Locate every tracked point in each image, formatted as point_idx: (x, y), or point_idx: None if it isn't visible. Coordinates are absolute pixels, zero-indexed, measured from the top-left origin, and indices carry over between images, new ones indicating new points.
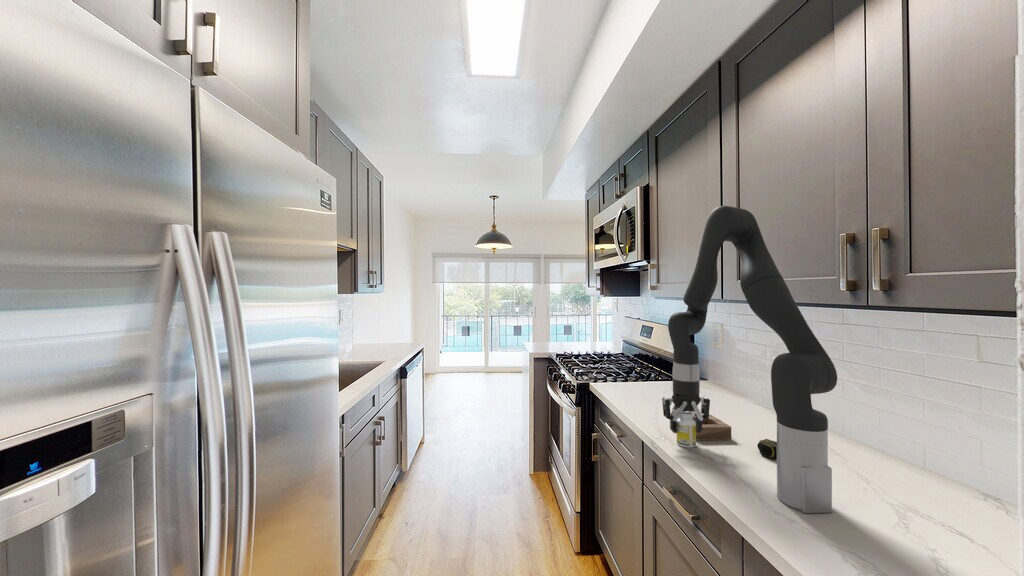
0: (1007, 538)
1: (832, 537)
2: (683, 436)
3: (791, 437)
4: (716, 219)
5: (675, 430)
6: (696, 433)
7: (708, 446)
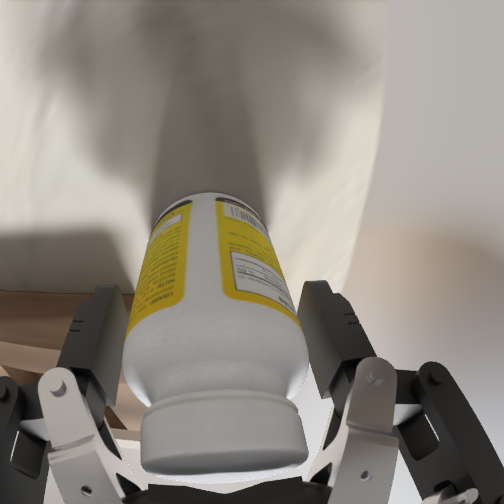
0: None
1: None
2: (263, 244)
3: None
4: None
5: (326, 293)
6: None
7: (80, 215)
